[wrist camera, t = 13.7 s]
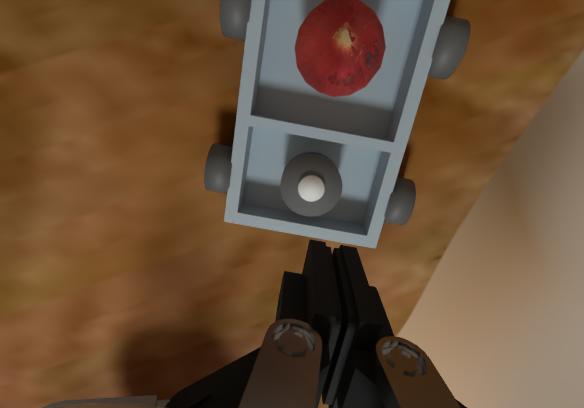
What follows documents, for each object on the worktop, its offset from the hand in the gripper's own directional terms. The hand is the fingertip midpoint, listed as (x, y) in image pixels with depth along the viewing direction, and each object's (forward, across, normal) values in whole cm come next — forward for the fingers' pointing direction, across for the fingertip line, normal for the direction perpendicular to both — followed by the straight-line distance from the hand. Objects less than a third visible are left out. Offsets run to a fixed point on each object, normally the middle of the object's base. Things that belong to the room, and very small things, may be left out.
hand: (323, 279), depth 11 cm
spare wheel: (+15, 0, +1) cm, 15 cm away
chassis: (+18, 0, -5) cm, 19 cm away
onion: (+17, 0, -9) cm, 19 cm away
